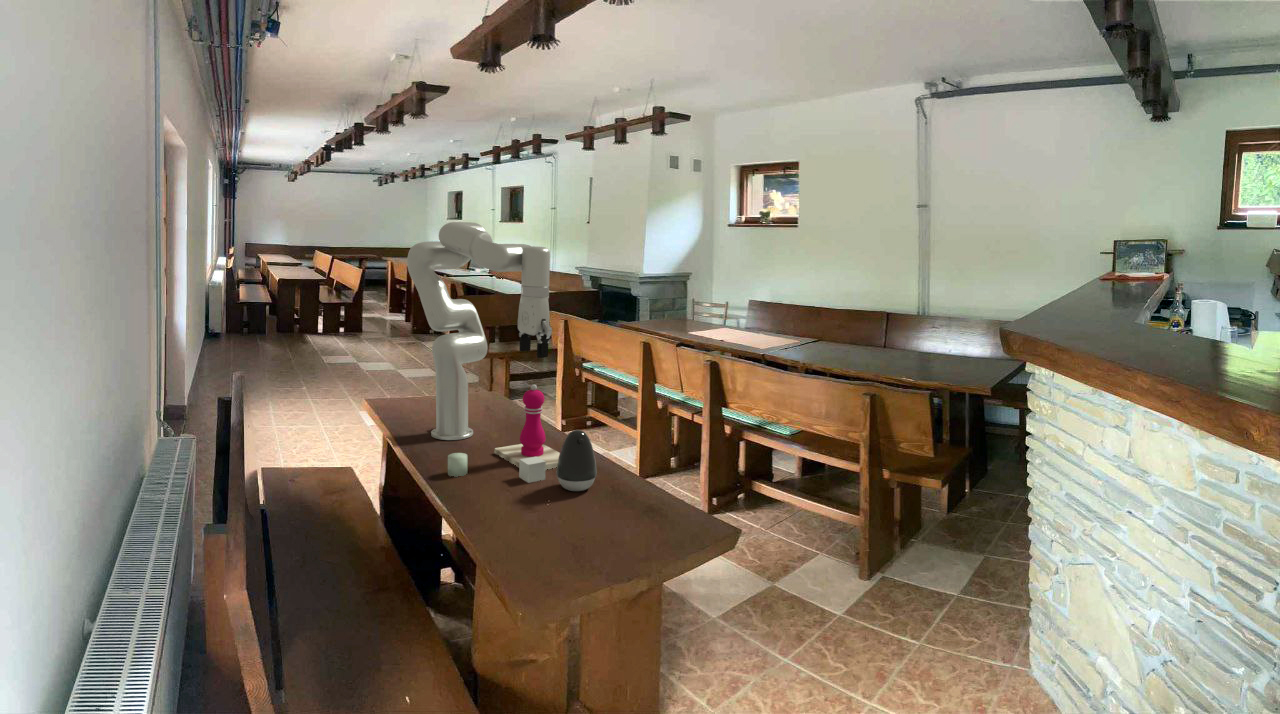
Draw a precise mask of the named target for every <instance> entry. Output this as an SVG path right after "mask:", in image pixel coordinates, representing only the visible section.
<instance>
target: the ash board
mask: <svg viewBox="0 0 1280 714" xmlns="http://www.w3.org/2000/svg"><path fill="white" fill-rule="evenodd" d="M522 446H523V445H522V444H521V443H519V444H512V445H507V446H502V447H500V446H499V447H495V448H494V455H496V456H498V455H499V457H500V458H502V459H503V458H504V460H505V461H507V462H508V461H509V463H510V464H512V465H513V464H514V465H513V466H515V465H516V466H515V467H517V468H519V459H524V458H530V457H528V456H524V455H522V454H521V447H522ZM542 446H543V448H544V453H543V455H541V456H537V457H538V458H540V459H542V460H544V461H545V462H546V471H547V469H548V470H552V468H553V469H557V468H556V467H557V463H558V458H559V454H560V452H559V451H557V450H555V449H554V448H552V447H550V446H548V445H546V444H545V443H544V444H543V445H542Z"/></svg>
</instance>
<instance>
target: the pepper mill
mask: <svg viewBox="0 0 1280 714" xmlns="http://www.w3.org/2000/svg"><path fill="white" fill-rule="evenodd" d="M522 402H523V404H524V405H525V406H524V408H523V409H524V411H523V412H524V413H525V421H524V425H523V427H522V429H521V432H520V434H519V443H520V444H522V445H523V446H522V447H521V454H522V455H524V456H528V457H536V456H541V455H543V453H544V448H543V446H542V445H543V444H544V445H545V442H546V433H545V429H544V428H543V425H542V421H541V415H542V413H543V405H544V403H545V394H544V393H543V392H542V391H541V390H538V386H537V384H531V386H530V389H528V390H527V391H525V392H524V393H523V396H522Z"/></svg>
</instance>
